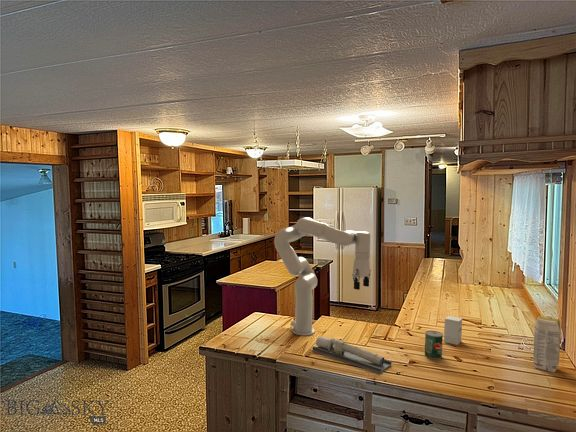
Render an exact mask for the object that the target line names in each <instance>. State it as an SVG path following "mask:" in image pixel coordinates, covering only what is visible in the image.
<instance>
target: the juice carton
mask: <svg viewBox="0 0 576 432" xmlns="http://www.w3.org/2000/svg"><path fill="white" fill-rule="evenodd" d="M561 330H562V326H561V321H560V318H553V315H550V314H545V316H542V315H538V316H537V318H536V319H535V323H534V337H533V353H532V355H533V357H532V359H533V360H532V361H533V365H534V368H535V369H538V370H543V371H545V372H550V373H556V371H557V370H558V366H559V365H560V364H559V363H560V352H561V351H560V350H561V333H562V331H561Z"/></svg>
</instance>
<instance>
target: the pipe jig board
mask: <svg viewBox="0 0 576 432" xmlns="http://www.w3.org/2000/svg"><path fill="white" fill-rule="evenodd" d="M336 340H337V339H335V338H334V337H333V338H328V337H324V336H320V335H319V336H318V337H317V338H316V342H315V343H316V344H315V345H316V346H312V352H313V353H316V354H320V355H322V356H325V357H328V358H331V359H335V360H337V361H340V362H343V363H346V364H349V365H351V366H356V367H359V368H361V369H364V370H367V371H370V372H373V373H376V374H379V375H381V374H382V373H384V372H385V371H387V370H388V369H389V368H390V366H391V367H392V360H389V359H385V358H384V359H385V360H384V363H383V365H382V366H379V365H377V364H373V363H372V362H370V361H368V360H366V359H364V358H361V357H359V356H357V355H355V354H352V353H350V352H348V351H345V352H344V355H340V354H336V353H335V352H333V345H334V344H335V342H336Z"/></svg>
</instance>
